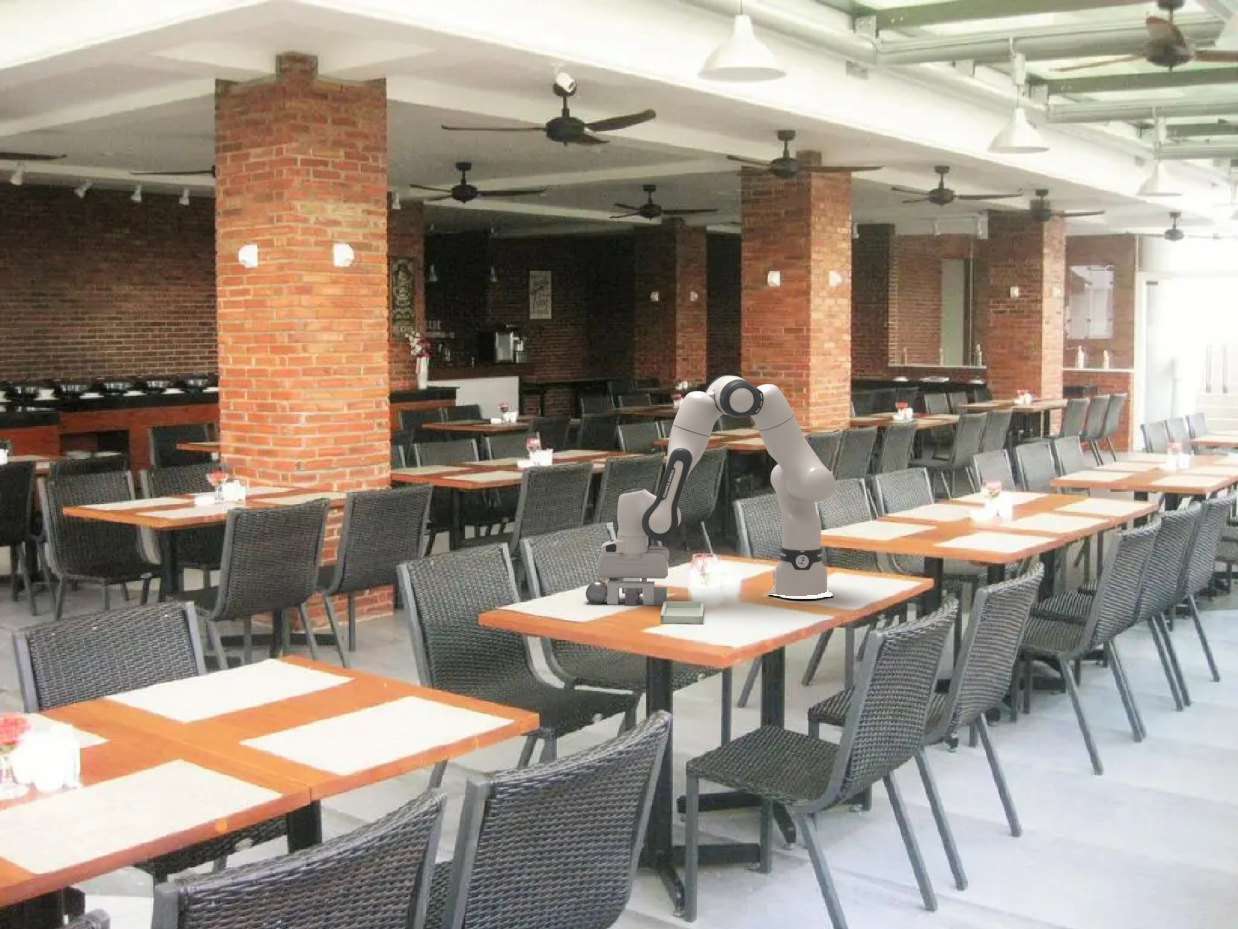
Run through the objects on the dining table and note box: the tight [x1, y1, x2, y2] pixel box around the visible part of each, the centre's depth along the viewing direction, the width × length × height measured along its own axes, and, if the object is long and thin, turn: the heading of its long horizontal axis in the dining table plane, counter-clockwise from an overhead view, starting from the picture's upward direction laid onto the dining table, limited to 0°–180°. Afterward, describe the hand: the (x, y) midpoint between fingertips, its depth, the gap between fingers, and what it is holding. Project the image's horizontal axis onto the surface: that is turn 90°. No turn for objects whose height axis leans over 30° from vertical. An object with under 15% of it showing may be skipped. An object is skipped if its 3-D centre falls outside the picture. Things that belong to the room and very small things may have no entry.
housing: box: [585, 579, 668, 607], centre depth 373 cm, size 5×22×6 cm, turn 85°
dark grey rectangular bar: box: [624, 588, 641, 607], centre depth 377 cm, size 14×4×4 cm, turn 176°
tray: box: [659, 600, 705, 625], centre depth 356 cm, size 20×11×2 cm, turn 175°
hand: (632, 593), depth 379 cm, fingers closed on dark grey rectangular bar, 3 cm apart
